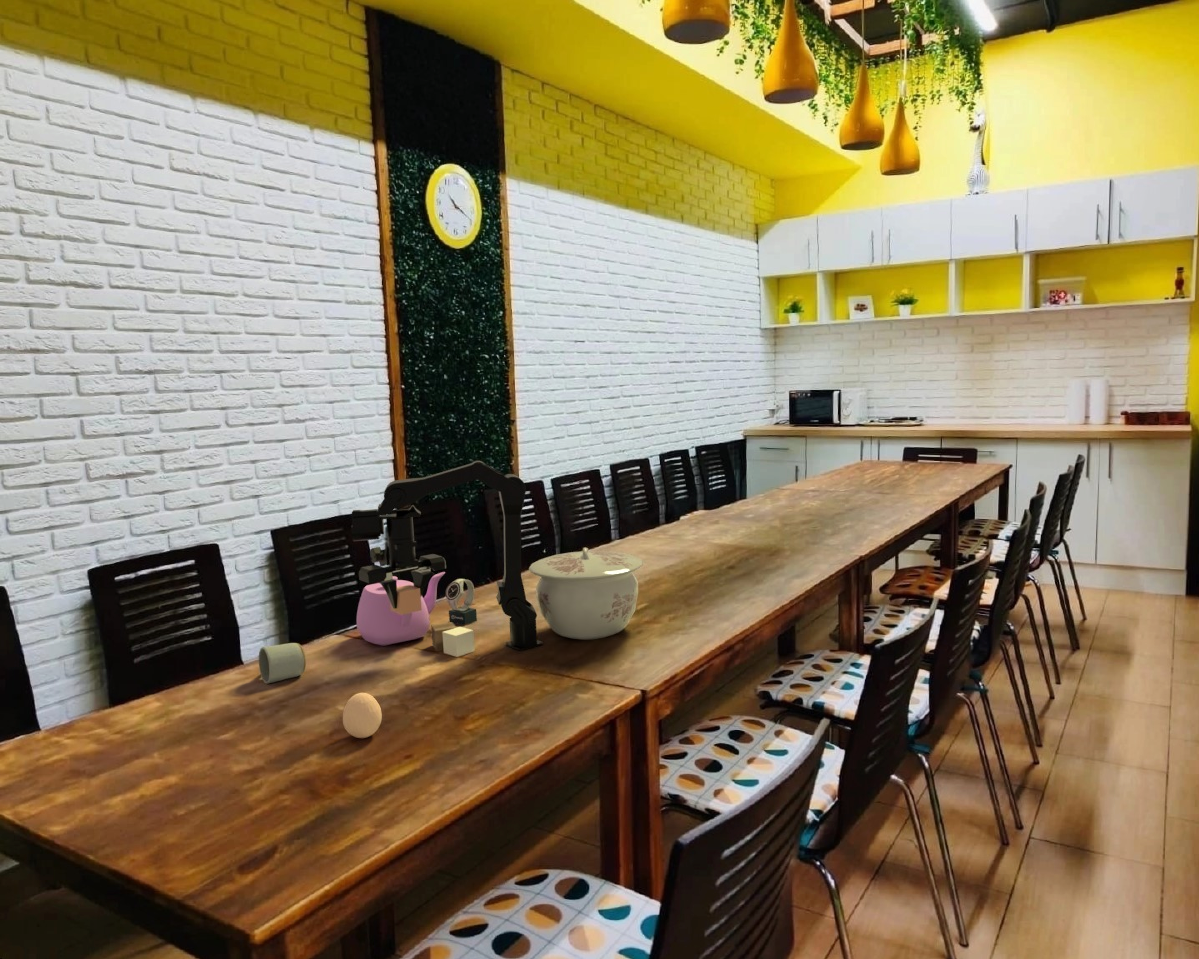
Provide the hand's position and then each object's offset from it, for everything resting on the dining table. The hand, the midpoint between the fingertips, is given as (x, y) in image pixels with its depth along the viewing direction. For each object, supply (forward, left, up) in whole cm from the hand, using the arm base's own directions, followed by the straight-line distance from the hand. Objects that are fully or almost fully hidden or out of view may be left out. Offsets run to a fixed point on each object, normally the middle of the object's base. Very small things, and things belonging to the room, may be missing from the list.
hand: (406, 605), depth 193 cm
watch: (+16, -23, -12) cm, 31 cm away
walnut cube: (+1, -9, -12) cm, 15 cm away
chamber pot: (-15, -40, -12) cm, 45 cm away
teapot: (+17, -5, -12) cm, 22 cm away
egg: (-34, +26, -12) cm, 45 cm away
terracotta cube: (0, 0, -1) cm, 1 cm away
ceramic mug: (+9, +26, -12) cm, 30 cm away
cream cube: (-5, -10, -12) cm, 16 cm away
